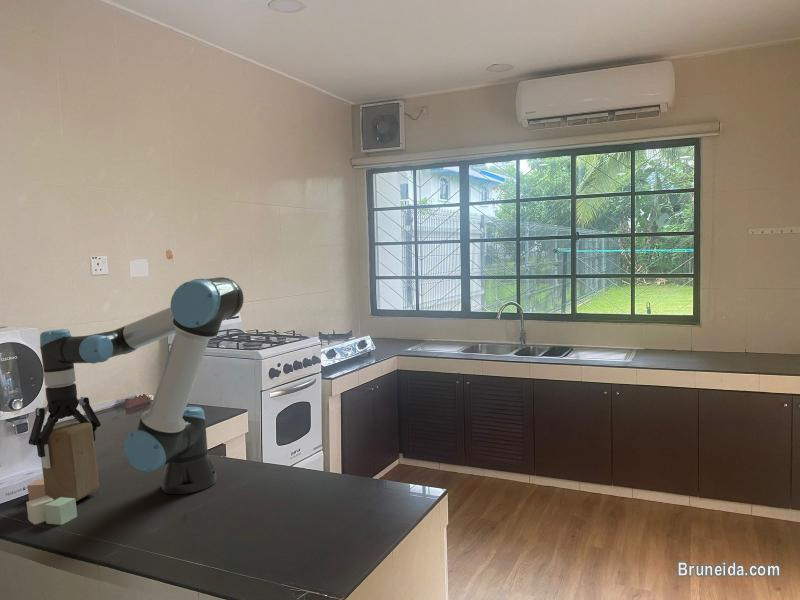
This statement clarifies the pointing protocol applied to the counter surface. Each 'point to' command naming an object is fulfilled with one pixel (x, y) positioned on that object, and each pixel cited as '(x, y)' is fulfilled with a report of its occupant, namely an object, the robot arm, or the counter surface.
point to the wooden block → (71, 462)
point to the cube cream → (37, 509)
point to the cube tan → (36, 489)
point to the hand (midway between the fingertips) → (69, 460)
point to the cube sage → (60, 510)
